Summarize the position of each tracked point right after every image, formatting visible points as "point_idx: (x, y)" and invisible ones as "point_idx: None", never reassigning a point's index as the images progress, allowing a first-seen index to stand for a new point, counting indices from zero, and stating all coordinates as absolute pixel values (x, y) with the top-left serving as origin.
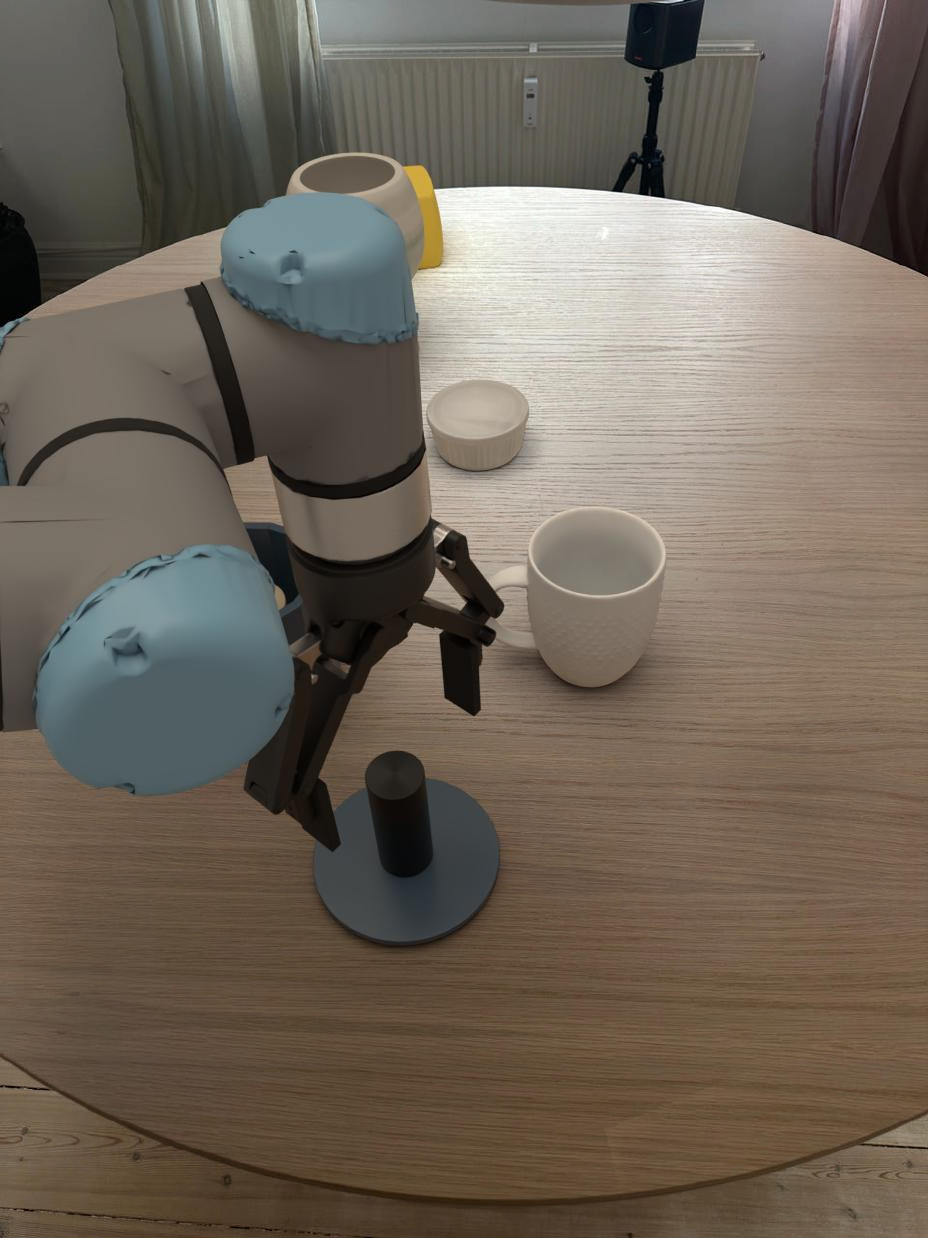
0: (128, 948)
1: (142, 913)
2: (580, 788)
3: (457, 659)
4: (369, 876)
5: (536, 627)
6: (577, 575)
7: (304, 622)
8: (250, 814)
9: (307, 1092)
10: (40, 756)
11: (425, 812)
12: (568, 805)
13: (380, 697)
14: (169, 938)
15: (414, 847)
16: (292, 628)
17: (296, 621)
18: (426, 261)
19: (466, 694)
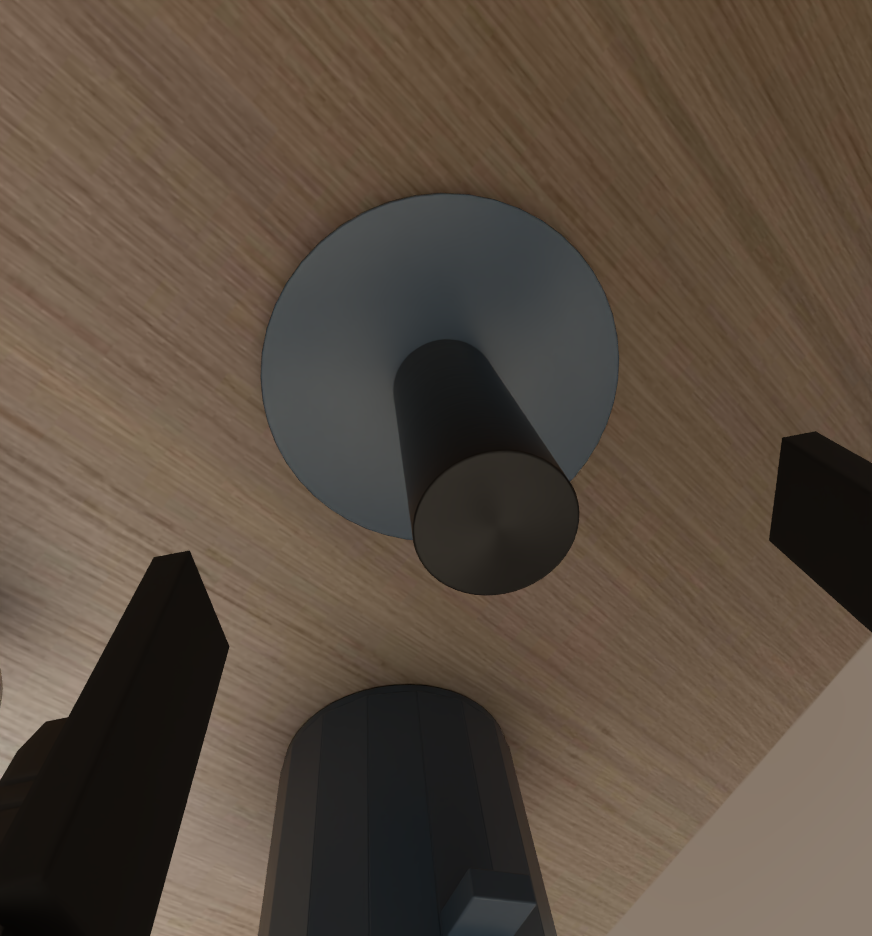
0: None
1: (774, 554)
2: (37, 282)
3: (126, 821)
4: (525, 395)
5: None
6: None
7: (366, 914)
8: (569, 598)
9: (850, 141)
10: (694, 796)
11: (442, 406)
12: (88, 267)
13: (273, 660)
14: None
15: (474, 369)
16: (398, 915)
17: (386, 931)
18: None
19: (173, 636)
